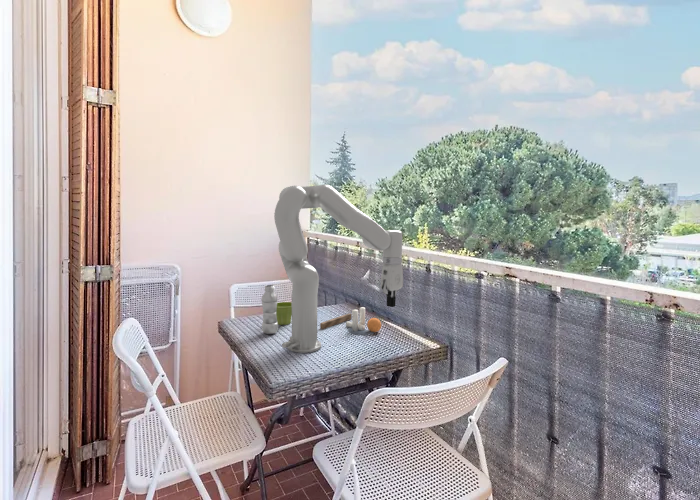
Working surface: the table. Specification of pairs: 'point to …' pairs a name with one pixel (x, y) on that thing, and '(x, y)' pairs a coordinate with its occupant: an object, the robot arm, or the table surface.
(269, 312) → the plastic bottle
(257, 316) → the table surface
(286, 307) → the plant pot
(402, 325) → the table surface
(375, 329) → the ball
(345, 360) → the table surface
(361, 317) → the pin
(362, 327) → the front pin
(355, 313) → the pin
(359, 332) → the pin spot mat
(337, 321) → the bar
